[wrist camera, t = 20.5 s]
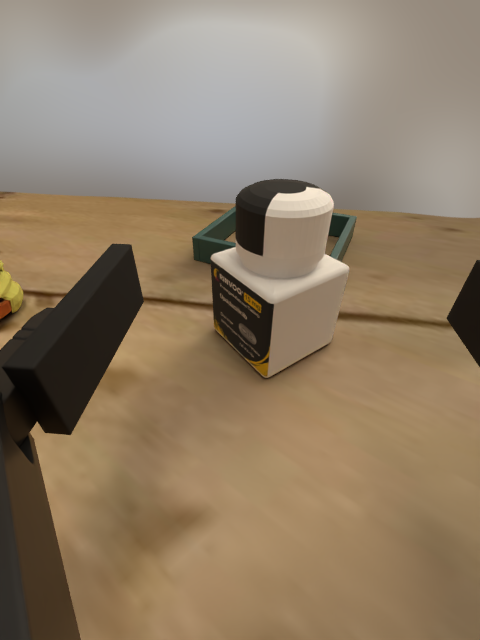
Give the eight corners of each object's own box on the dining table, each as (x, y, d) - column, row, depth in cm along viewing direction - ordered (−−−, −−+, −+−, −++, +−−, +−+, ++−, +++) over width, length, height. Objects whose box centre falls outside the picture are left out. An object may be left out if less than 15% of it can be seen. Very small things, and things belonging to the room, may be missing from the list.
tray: (352, 236, 43) (357, 216, 41) (327, 291, 32) (333, 267, 31) (244, 217, 48) (245, 198, 46) (193, 259, 37) (191, 237, 36)
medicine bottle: (212, 329, 28) (204, 182, 20) (276, 301, 31) (289, 166, 23) (265, 381, 23) (280, 217, 16) (333, 342, 26) (371, 192, 19)
